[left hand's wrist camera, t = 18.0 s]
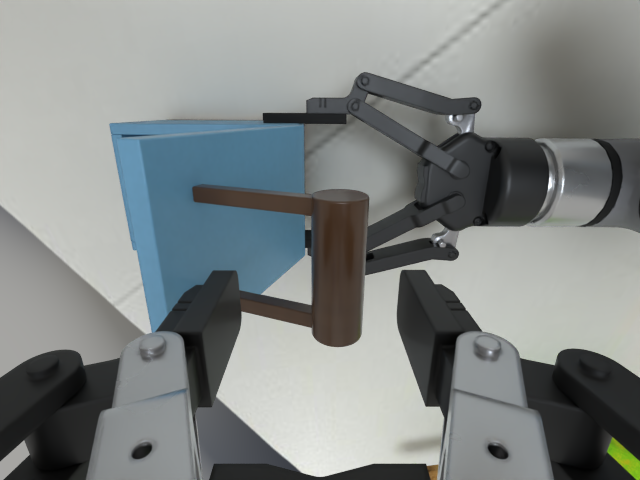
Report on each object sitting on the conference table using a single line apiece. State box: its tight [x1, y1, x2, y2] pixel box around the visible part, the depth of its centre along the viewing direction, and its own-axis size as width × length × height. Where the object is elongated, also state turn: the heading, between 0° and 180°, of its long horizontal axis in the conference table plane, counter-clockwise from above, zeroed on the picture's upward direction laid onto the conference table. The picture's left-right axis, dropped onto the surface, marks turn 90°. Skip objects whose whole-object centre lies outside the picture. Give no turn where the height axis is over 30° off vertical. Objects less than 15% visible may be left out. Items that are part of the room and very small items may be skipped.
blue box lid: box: [117, 125, 369, 347], centre depth 19 cm, size 14×10×9 cm
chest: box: [109, 120, 305, 250], centre depth 32 cm, size 14×10×11 cm
